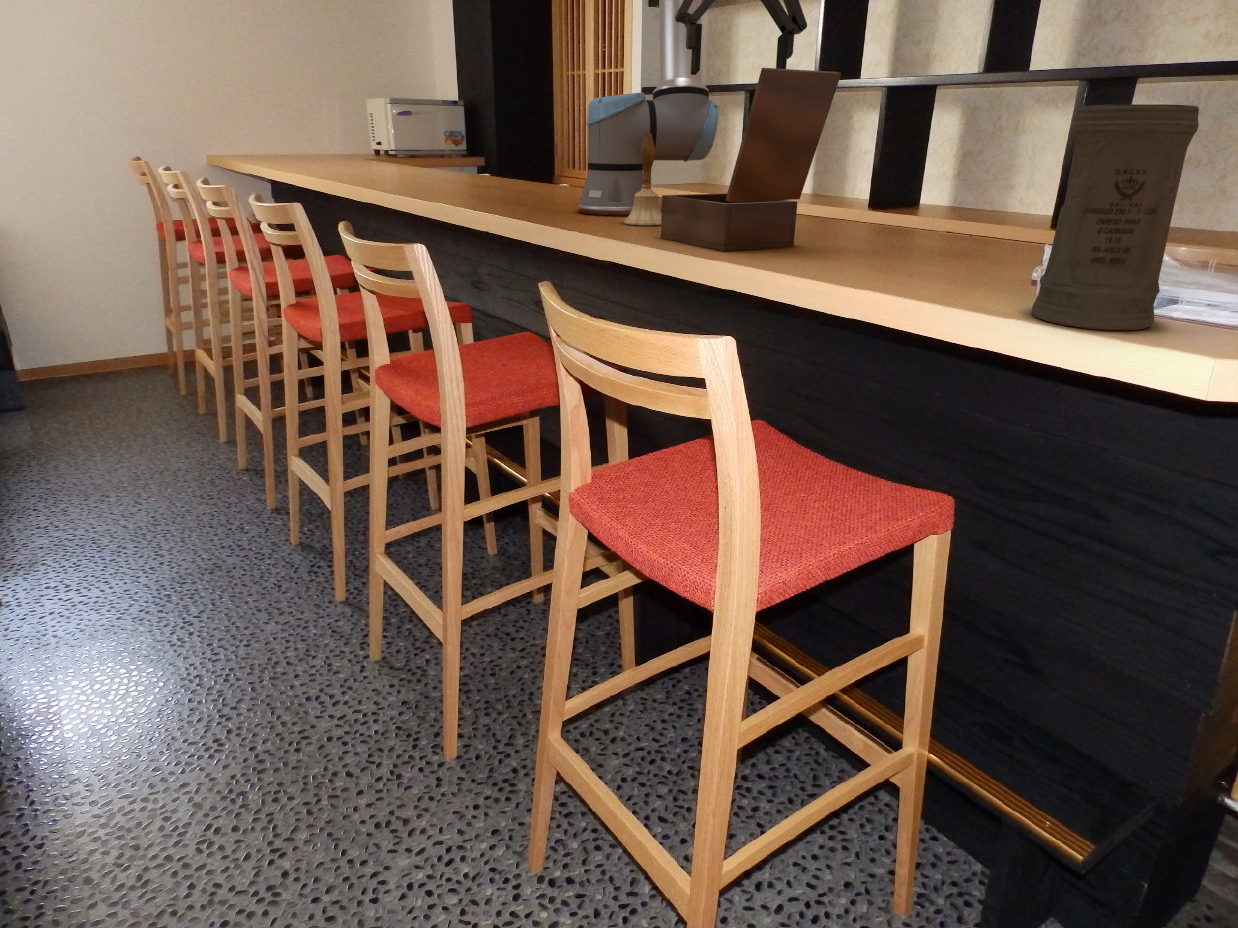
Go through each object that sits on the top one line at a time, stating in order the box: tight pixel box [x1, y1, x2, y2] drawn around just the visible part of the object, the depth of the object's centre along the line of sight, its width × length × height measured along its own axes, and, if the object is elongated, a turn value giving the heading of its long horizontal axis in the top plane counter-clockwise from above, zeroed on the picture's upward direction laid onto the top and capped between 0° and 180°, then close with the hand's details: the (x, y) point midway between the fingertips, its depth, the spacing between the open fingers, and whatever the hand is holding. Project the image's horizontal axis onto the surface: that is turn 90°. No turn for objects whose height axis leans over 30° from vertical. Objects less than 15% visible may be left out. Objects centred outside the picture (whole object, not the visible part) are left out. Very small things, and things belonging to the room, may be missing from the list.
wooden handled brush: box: [623, 134, 662, 226], centre depth 157 cm, size 8×8×16 cm
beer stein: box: [1030, 103, 1200, 331], centre depth 82 cm, size 15×11×20 cm
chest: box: [660, 192, 798, 252], centre depth 134 cm, size 18×14×7 cm
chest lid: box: [726, 67, 842, 202], centre depth 120 cm, size 18×14×1 cm
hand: (738, 76), depth 129 cm, fingers open, 13 cm apart
